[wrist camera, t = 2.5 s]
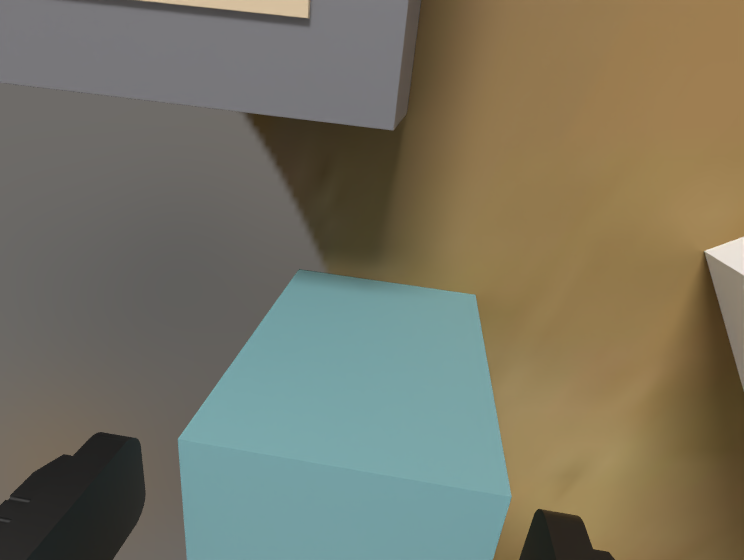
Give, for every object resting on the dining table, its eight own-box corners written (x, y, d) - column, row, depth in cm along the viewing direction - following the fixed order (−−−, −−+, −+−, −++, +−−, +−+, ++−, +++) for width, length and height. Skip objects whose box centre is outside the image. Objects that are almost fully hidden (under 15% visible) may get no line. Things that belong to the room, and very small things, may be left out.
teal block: (475, 294, 13) (511, 497, 7) (445, 435, 15) (452, 693, 9) (299, 269, 14) (178, 438, 7) (292, 410, 16) (192, 640, 9)
